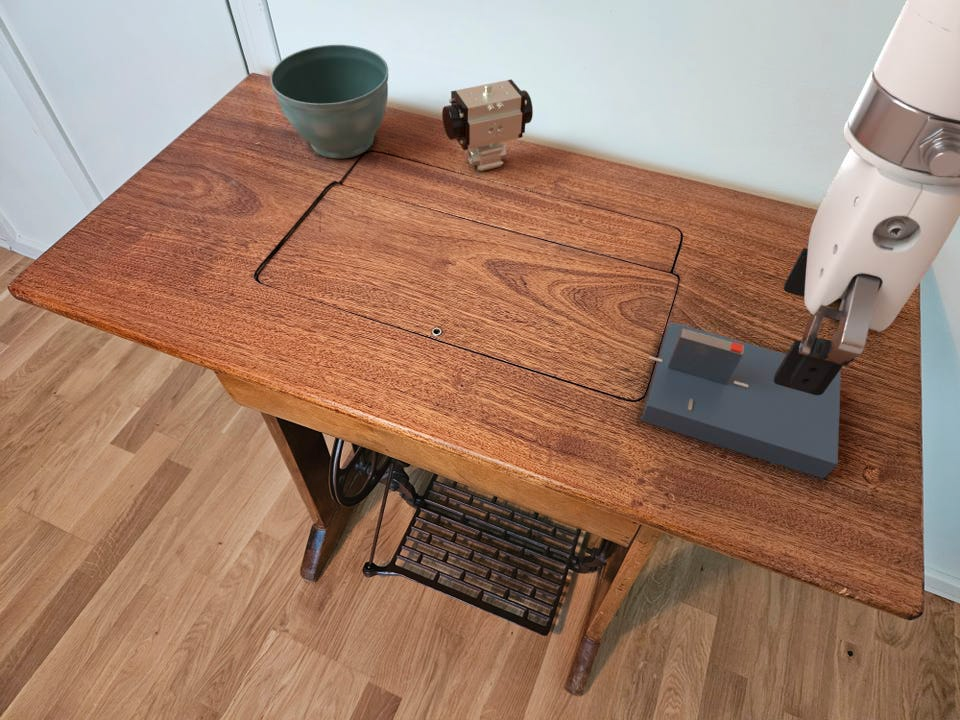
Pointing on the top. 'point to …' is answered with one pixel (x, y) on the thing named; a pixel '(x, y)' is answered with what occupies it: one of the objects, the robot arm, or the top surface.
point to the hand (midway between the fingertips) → (800, 337)
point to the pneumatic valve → (487, 120)
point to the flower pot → (333, 97)
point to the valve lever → (705, 356)
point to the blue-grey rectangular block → (747, 409)
